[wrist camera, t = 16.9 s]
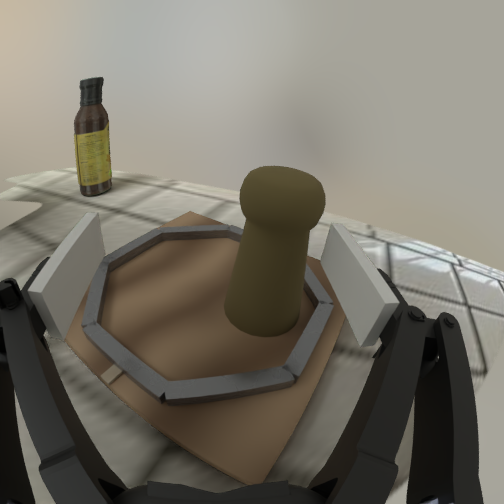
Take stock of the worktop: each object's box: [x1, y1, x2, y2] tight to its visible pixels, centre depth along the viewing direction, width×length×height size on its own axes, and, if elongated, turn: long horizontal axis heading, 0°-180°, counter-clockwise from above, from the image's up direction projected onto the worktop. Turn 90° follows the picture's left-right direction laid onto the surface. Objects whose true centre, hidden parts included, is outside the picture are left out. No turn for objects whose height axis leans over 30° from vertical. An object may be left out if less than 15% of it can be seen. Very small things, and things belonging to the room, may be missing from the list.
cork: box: [224, 166, 325, 337], centre depth 18 cm, size 6×6×11 cm
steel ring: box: [81, 225, 334, 406], centre depth 22 cm, size 19×19×1 cm
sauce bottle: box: [74, 77, 112, 196], centre depth 36 cm, size 6×6×20 cm
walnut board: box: [64, 211, 346, 486], centre depth 22 cm, size 22×22×1 cm
